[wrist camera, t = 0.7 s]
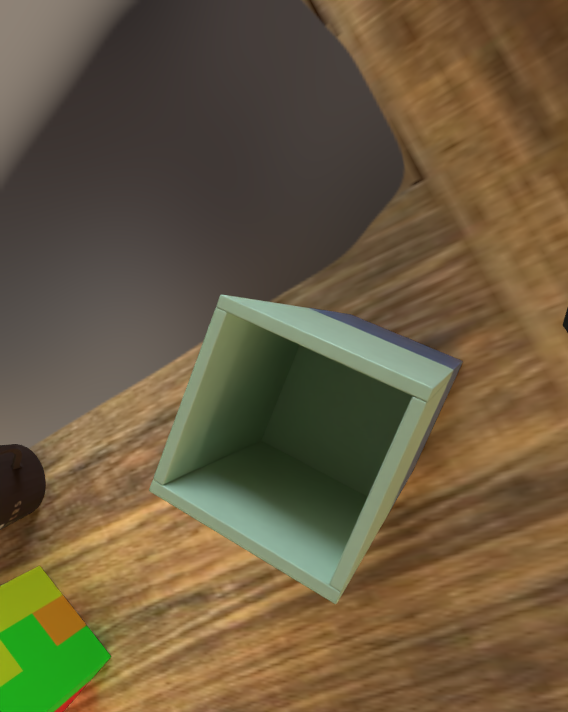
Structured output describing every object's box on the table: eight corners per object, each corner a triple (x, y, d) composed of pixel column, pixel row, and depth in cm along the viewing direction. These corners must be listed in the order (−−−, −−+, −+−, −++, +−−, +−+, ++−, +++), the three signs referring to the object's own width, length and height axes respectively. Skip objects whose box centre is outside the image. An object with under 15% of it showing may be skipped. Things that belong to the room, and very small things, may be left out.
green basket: (308, 307, 29) (220, 293, 19) (454, 369, 26) (434, 388, 17) (254, 442, 30) (147, 491, 21) (388, 513, 27) (335, 605, 18)
